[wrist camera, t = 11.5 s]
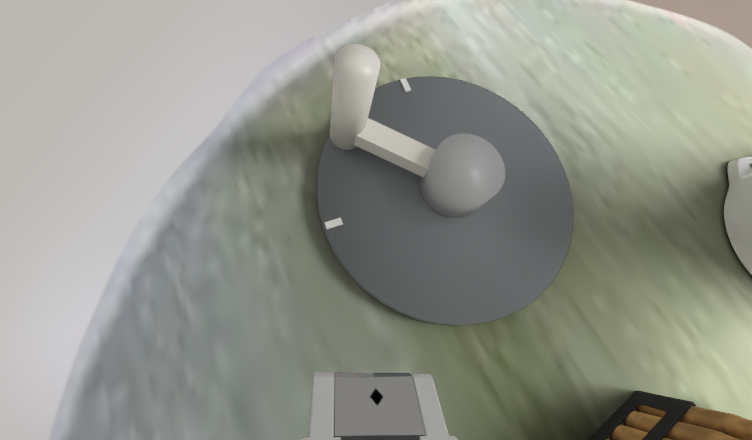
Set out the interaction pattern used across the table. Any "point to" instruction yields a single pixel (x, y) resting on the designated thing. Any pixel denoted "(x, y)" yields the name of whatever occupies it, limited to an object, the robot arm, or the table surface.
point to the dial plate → (440, 233)
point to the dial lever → (411, 142)
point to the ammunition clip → (670, 421)
